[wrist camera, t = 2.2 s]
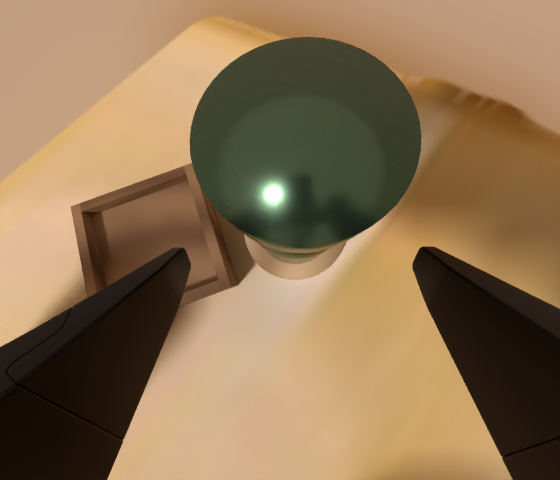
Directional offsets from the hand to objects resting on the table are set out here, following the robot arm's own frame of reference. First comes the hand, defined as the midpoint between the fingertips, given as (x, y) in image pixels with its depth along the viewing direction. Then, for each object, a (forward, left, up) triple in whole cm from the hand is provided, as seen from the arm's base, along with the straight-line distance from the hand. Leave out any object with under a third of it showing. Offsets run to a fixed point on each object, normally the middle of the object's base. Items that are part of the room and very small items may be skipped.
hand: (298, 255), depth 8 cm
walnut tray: (+12, +4, -10) cm, 16 cm away
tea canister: (+2, -3, -10) cm, 10 cm away
